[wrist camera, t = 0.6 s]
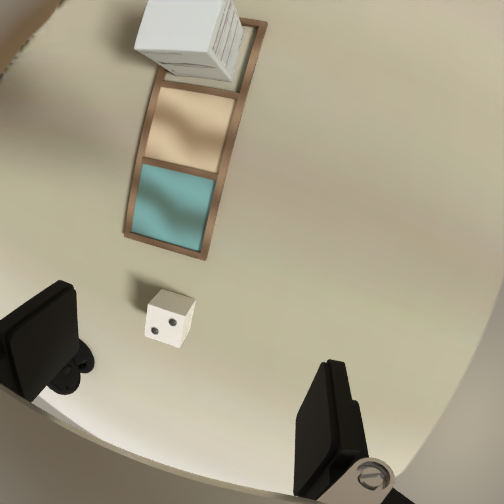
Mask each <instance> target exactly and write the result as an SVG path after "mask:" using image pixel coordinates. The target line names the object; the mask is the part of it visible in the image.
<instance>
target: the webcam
mask: <svg viewBox="0 0 504 504" xmlns="http://www.w3.org/2000/svg"><path fill="white" fill-rule="evenodd" d="M83 361H87V364H86V365H85V366H83V365H79V364H81V363H82V362H83ZM93 368H94V357H93V355H92V353H91V351H90V349H89V348H88V347H87V346H86V345H85V344H84V343H83V342H82V341H80V340H79V349H78V352H77V353H76V354H75V355H74V356H73V358H72V359H71V360H70V361H69V362H68V363H67V364H66V365H65V366H64V367H63V368H62V369H61V370H60V371H59V373H58V374H57V375H56V376H55V377H54V378H53V379H52V380H51V381H50V382H49V383H48V385H47V386H48V387H49V388H50V389H51V390H53V391H54V392H56V393H57V394H61V395H67V394H71V393H73V392H74V391H76V390H77V388H78V387H79V384H80V379H81V377H80V373H89V372H90V371H92V369H93Z"/></svg>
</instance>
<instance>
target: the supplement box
mask: <svg viewBox="0 0 504 504" xmlns="http://www.w3.org/2000/svg"><path fill="white" fill-rule="evenodd" d="M243 33H244V31H243V29H242V26H241V22H240V20H239V17H238V14H237V12H236V9H235V7H234V4H233V1H232V0H148V3H147V6H146V9H145V12H144V15H143V18H142V21H141V25H140V28H139V31H138V34H137V38H136V41H135V46H134V49H135V50H137V51H138V52H140V53H142V54H143V55H145V56H146V57H148V58H150V59H151V60H153V61H154V62H156V63H157V64H159V65H161V66H162V67H164V68H165V69H167V70H168V71H170V72H171V73H173V74H174V75H176V76H185V77H198V78H207V79H214V80H221V81H227V82H232V79H233V74H234V70H235V66H236V62H237V57H238V53H239V49H240V45H241V41H242V37H243Z"/></svg>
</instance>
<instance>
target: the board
mask: <svg viewBox="0 0 504 504" xmlns="http://www.w3.org/2000/svg"><path fill="white" fill-rule="evenodd" d="M239 20H240V22H241V25H243V26H249V27H255V28H258V31H257V34H256V38H255V41H254V44H253V48H252V51H251V54H250V58H249V61H248V65H247V68H246V71H245V75H244V78H243V82H242V86H241V89H240V93H236V92H231V91H226V90H221V89H215V88H209V87H203V86H197V85H191V84H184V83H177V82H169V81H164V78H165V75H166V71H167V69H165V68H164V67H162V66H161V65H160V66H159V69H158V73H157V76H156V80H155V83H154V87H153V91H152V94H151V98H150V102H149V106H148V110H147V114H146V118H145V122H144V127H143V131H142V135H141V140H140V144H139V149H138V154H137V159H136V164H135V169H134V175H133V180H132V186H131V192H130V198H129V204H128V210H127V217H126V224H125V232H124V237H126V238H130V239H133V240H136V241H140V242H143V243H146V244H150V245H153V246H156V247H160V248H163V249H166V250H170V251H173V252H177V253H180V254H183V255H187V256H190V257H194V258H197V259H200V260H204V261H205V260H206V259H207V255H208V251H209V246H210V242H211V237H212V233H213V228H214V224H215V220H216V215H217V211H218V207H219V203H220V199H221V194H222V190H223V186H224V182H225V178H226V174H227V170H228V166H229V162H230V158H231V154H232V150H233V146H234V142H235V138H236V135H237V131H238V127H239V123H240V120H241V116H242V112H243V108H244V105H245V101H246V97H247V94H248V90H249V87H250V83H251V79H252V76H253V72H254V69H255V65H256V62H257V59H258V55H259V52H260V48H261V45H262V42H263V38H264V35H265V32H266V28H267V25H268V23H267V22H265V21H259V20H253V19H247V18H241V17H239Z"/></svg>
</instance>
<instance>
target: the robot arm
mask: <svg viewBox="0 0 504 504" xmlns="http://www.w3.org/2000/svg"><path fill="white" fill-rule="evenodd" d="M78 349H79V336H78V321H77V299H76V290H74V287H73V285H72V284H69V283H67V282H64V281H62V280H58V281H57V282H55V283H54V284H52V285H50V286H49V287H47V288H46V289H44V290H43V291H41V292H40V293H39V294H37V295H36V296H34V297H33V298H31V299H30V300H28V301H27V302H25V303H24V304H22V305H21V306H20V307H18V308H17V309H15V310H14V311H13V312H11V313H10V314H8V315H7V316H6V317H4V318H3V319H1V320H0V504H415V503H413V502H412V501H410V500H409V499H408V498H406V497H405V496H404V495H402V494H401V493H399V492H398V491H397V490H395V489H394V488H393V485H394V483H395V476H394V473H393V471H392V469H391V468H390V466H388V465H387V464H386V463H385V462H383V461H381V460H379V459H376V458H369V455H368V449H367V444H366V438H365V433H364V428H363V422H362V417H361V412H360V407H359V404H358V402H357V401H356V400H352V397H351V392H350V387H349V382H348V376H347V372H346V367H345V363H344V362H341V361H336V360H331V359H329V360H328V361H327V362H326V363H325V362H322V363H321V364H320V367H319V369H318V371H317V373H316V375H315V378H314V380H313V382H312V384H311V386H310V388H309V391H308V393H307V395H306V397H305V399H304V401H303V403H302V405H301V407H300V409H299V411H298V414H297V417H296V433H295V465H294V489H293V494H294V496H291V495H286V494H281V493H276V492H270V491H264V490H259V489H254V488H249V487H245V486H240V485H236V484H231V483H227V482H223V481H219V480H215V479H211V478H207V477H203V476H200V475H196V474H193V473H189V472H186V471H183V470H179V469H176V468H173V467H170V466H167V465H164V464H161V463H158V462H155V461H153V460H150V459H147V458H144V457H142V456H139V455H136V454H134V453H131V452H129V451H126V450H124V449H121V448H119V447H117V446H114V445H112V444H110V443H107V442H105V441H103V440H101V439H98V438H96V437H94V436H92V435H90V434H88V433H86V432H83V431H81V430H79V429H77V428H75V427H73V426H72V425H70V424H68V423H66V422H64V421H62V420H60V419H58V418H56V417H55V416H53V415H51V414H49V413H47V412H45V411H44V410H42V409H40V408H39V407H37V406H35V405H34V404H32V403H31V402H32V401H33V400H34V399H35V398H36V397H37V396H38V395H39V393H40V392H41V391H42V390H43V389H44V388H45V387H46V386H47V385H48V383H49V382H50V381H51V380H52V379H53V378H54V377H55V376H56V375H57V374H58V373H59V371H60V370H61V369H62V368H63V367H64V366H65V365H66V364H67V363H68V362H69V361H70V360H71V359H72V358H73V356H74V355H75V354H76V353H77V352H78ZM297 496H298V497H297Z"/></svg>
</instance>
